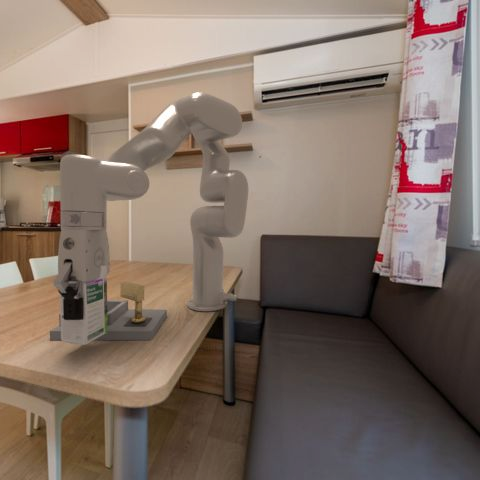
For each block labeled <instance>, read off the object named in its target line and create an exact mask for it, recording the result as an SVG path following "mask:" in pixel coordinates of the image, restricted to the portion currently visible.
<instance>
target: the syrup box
mask: <svg viewBox="0 0 480 480" xmlns="http://www.w3.org/2000/svg"><path fill="white" fill-rule="evenodd" d="M100 268H101V274H100V278H98V279H96V280H94V281H92V282H89V283H83V282H82V293H81V297H80V298H83V318H82V319H81V320H64V318H63V299H62V298H61V294H60V293H59V307H60V308H59V310H60V311H59V314H60V316H61V340H60V341H61V342H63V343H66V344H67V343H68V344H74V345H75V344H76V345H82V346H87V345H88V344H90V343H91V342H92V341H96V340H95V339H96V338H98V337H100V336H102V335H104V334H106V333H107V332H108V315H107V300H108V274H107V266H106V265H103V266H102V267H100ZM71 281H78V280H77V279H76V278H71ZM71 286H72V288H73V289H74V290H75V289H76V285H71Z"/></svg>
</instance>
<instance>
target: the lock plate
mask: <svg viewBox="0 0 480 480" xmlns="http://www.w3.org/2000/svg"><path fill="white" fill-rule="evenodd" d="M167 312H168V310H167V309H150V308H149V309H143V308H142V316H145V317H146V320H145V321H144V322H141V323H132V322H131V318H132V317H134V316H135V308H134V309H133V308H132V309H129V299H127V300H123V299H121V300H120V299H117V300H116V299H115V300H113V299H111V300H108V299H107V315H108V332H107V333H106V334H104V335H102V336H100V337H98V338H96V339H95V340H94V341H152V340H153V338H154V337H155V335H156V334H157V332H158V331H159V329H160V327H161V326H162V325H163V323H164V321H166V318H168V317H167V316H168V314H167ZM58 323H59V324H58V326H56V327H54V328H53V329H51V330H49V340H50V341H61V316H60V313H59V315H58Z"/></svg>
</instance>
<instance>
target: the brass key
mask: <svg viewBox="0 0 480 480" xmlns="http://www.w3.org/2000/svg"><path fill="white" fill-rule="evenodd" d="M120 297H121V298H124V299H127V300H130V301H132V302H133V301H134V309H135V316H134V317H132V318H131V322H132V323H141V322H144V321H145V320H146V317H145V316H142V309H143V301H145V285H143V284H139V283H135V282H132V281H131V282H130V281H123V282H120Z"/></svg>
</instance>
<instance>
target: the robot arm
mask: <svg viewBox="0 0 480 480" xmlns="http://www.w3.org/2000/svg"><path fill="white" fill-rule="evenodd" d="M242 127H243V118H242V115H241V113H240V111H239V110H238V108H237V107H236V106H235V105H234V104H232V103H230V102H228V101H225V100H223V99H221V98H219V97H217V96H215V95H212V94H209V93H206V92H201V91H197V92H192V93H190V94H187V95H185V96H182V97H180V98H177V99H175V100H173V101H172V102H171V103H169V104H168V105H167V106H166V107H164V109H163V110H162V111H161V112H160V113H159V114H158V115H157V116H156V117H155V118H154V119H153V120H151V122H149V124H147V126H145V127H144V129H142V130H141V131H140V132H138V133H137V134H136V135H134V136H133V137H132V138H131V139H130V140H128V141H127V142H126V143H125V144H123V145H121V146H120V147H119V148H118V149H117V150H115V151H114V152H113V153H112V154H110V155H109V156H108V157H107V158H106V159H105V160H101V159H99V158H97V157H94V156H89V155H86V154H77V153H76V154H75V153H72V154H66V155H63V156H62V157H61V159H60V162H59V171H60V172H59V183H60V184H59V185H60V189H59V191H60V195H59V197H60V230H61V231H60V234H59V235H60V236H59V243H58V251H57V252H58V253H57V254H58V255H57V276H56V277H55V279H54V280H53V282H52V283H53V284H52V285H53V287H55V288H56V289H57V291H58V293H59V295H60V294H61V298H62V299H63V318H64V320H81V319H82V318H83V298H80V297H81V293H82V282H83V283H89V282H92V281H94V280H96V279H98V278H100V274H101V268H100V267H102V266H103V265H106V266H107V275H109V274H110V272H111V267H110V266H111V264H110V263H111V260H110V246H109V239H108V237H109V236H108V233H107V232H108V231H107V227H108V226H107V219H108V218H107V208H108V207H107V202H115V201H132V200H136V199H140V198H142V197H143V196H145V195H146V193H147V192H148V190H149V188H150V178H149V176H148V174H147V173H146V171H147V170H148V169H150V168H152V167H155V166H157V165H159V164H162V163H164V162H166V161H167V160H169V159H170V158H172V156H173V155H174V154H175V153H176V152H177V151H178V149H179V148H180V147H181V146H182V144H183V143H184V142H185V141H186V140H187V139H188V138H189V136H190V135H191V134H192V136H193V138H194V140H195V141H196V143H197V144H198V146H199V147H200V150H201V152H202V158H203V159H202V169H201V176H200V185H199V195H200V198H201V200H202V201H204V202H206V203H210V204H211V203H212V204H213V203H214V204H218V203H221V204H222V203H223V205H206V206H200V207H198V208H197V209H195V210H194V211H193V212H192V213H191V216H190V218H189V219H190V221H189V222H190V231H191V234H192V235H191V236H192V245H193V246H192V248H193V249H192V254H193V255H192V298H191V299H189V300H188V301H187V307H188V308H189V309H190V310H193V311H197V312H216V311H221V310H223V309H225V308H227V307H228V301H231V302H236V301H238V300H237V299H238V298H237V297H238V296H237V295H238V294H233V293H231V292H229V293H226V292H225V289H223V288H224V285H223V283H224V247H223V243H222V242H221V240H220V238H231V239H233V238H237V237H239V236H240V235H241V234H242V232H243V230H244V229H245V228H244V227H245V222H246V216H247V215H246V214H247V206H248V198H249V183H248V182H249V181H248V179H247V177H246V175H245V173H243V172H242V171H240V169H239V170H238V169H230V165H231V164H230V162H231V159H230V155H229V153H228V151H227V150H226V149H225V147H224V145H222V143H221V142H220V141H221V140H224V139H230V138H234V137H237V135H239V133H240V132H241V131H242ZM71 278H76V279H77V280H78V281H71ZM71 285H76V289H75V290H74V289H73V288H72V286H71Z"/></svg>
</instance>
